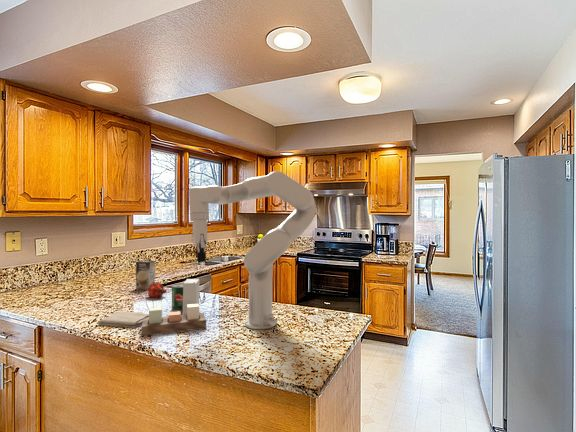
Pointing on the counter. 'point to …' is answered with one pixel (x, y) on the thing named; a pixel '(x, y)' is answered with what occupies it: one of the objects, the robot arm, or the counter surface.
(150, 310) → the sage key
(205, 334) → the counter surface
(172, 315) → the terracotta key
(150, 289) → the dragon fruit
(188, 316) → the cream key
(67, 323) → the counter surface
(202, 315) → the brown slotted tray
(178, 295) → the canned tomato
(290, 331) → the counter surface
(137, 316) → the washcloth
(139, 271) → the coffee box
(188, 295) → the skincare box
